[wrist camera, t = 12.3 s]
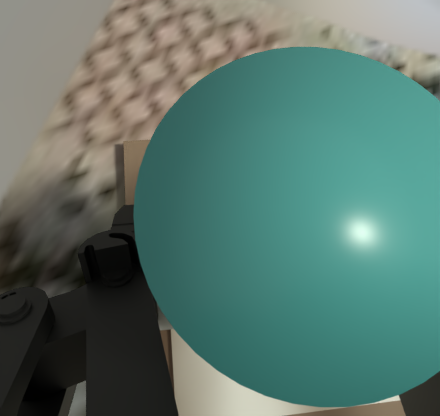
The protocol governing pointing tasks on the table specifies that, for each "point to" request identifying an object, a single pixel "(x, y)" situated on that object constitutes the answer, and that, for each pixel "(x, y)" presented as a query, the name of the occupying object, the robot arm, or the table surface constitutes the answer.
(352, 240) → the marker
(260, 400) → the writing pad
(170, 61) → the table surface
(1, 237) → the table surface
